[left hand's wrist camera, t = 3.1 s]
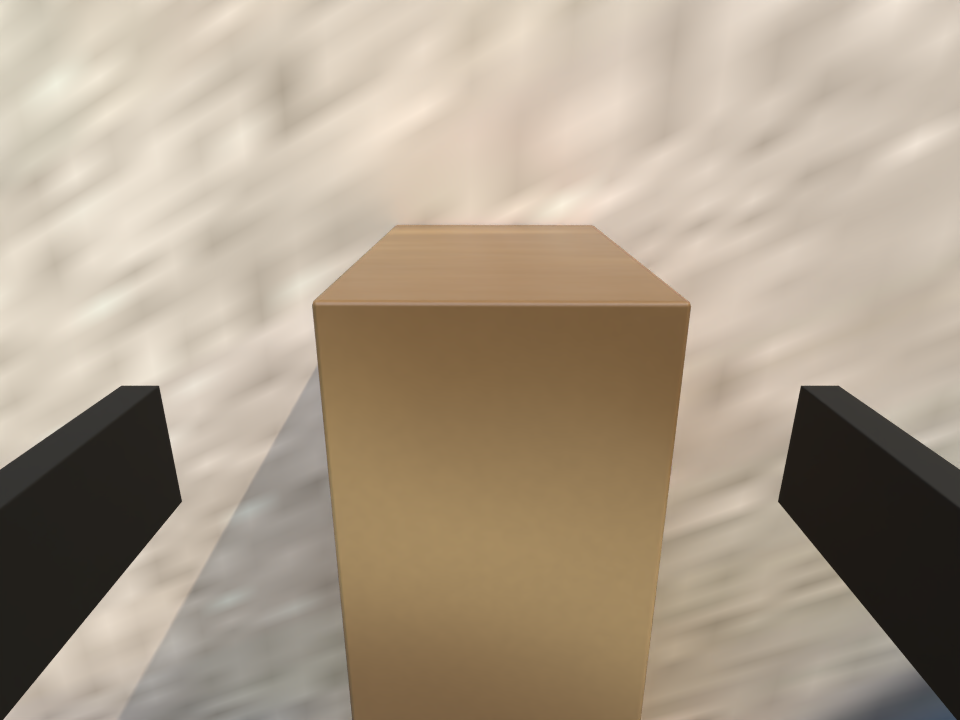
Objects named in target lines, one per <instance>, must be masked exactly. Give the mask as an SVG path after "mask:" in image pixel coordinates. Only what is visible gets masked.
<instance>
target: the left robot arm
mask: <svg viewBox="0 0 960 720" xmlns="http://www.w3.org/2000/svg"><path fill="white" fill-rule="evenodd" d="M181 502H182V500H181V495H180V490H179V484H178V479H177V474H176V469H175V464H174V459H173V454H172V449H171V444H170V439H169V434H168V429H167V424H166V419H165V414H164V409H163V404H162V399H161V394H160V389H159V386H120V387H119V388H118V389H116V390H115V391H113V392H112V393H110V394H109V395H107V396H106V397H105V398H103V399H102V400H100V401H99V402H97V403H96V404H94V405H93V406H92V407H90V408H89V409H87V410H86V411H84V412H83V413H81V414H80V415H79V416H77V417H76V418H74V419H73V420H71V421H70V422H68V423H67V424H66V425H64V426H63V427H61V428H60V429H58V430H57V431H55V432H54V433H53V434H51V435H50V436H48V437H47V438H45V439H44V440H42V441H41V442H40V443H38V444H37V445H35V446H34V447H32V448H31V449H29V450H28V451H27V452H25V453H24V454H22V455H21V456H19V457H18V458H16V459H15V460H14V461H12V462H11V463H9V464H8V465H6V466H5V467H3V468H2V469H1V470H0V720H3V719H4V718H5V717H6V716H7V714H8V713H9V712H10V711H11V709H12V708H13V707H14V706H15V705H16V703H17V702H18V701H19V700H20V698H21V697H22V696H23V695H24V694H25V692H26V691H27V690H28V689H29V687H30V686H31V685H32V684H33V683H34V681H35V680H36V679H37V678H38V676H39V675H40V674H41V673H42V672H43V670H44V669H45V668H46V667H47V666H48V664H49V663H50V662H51V661H52V659H53V658H54V657H55V656H56V655H57V653H58V652H59V651H60V650H61V648H62V647H63V646H64V645H65V644H66V642H67V641H68V640H69V639H70V637H71V636H72V635H73V634H74V633H75V631H76V630H77V629H78V628H79V626H80V625H81V624H82V623H83V622H84V620H85V619H86V618H87V617H88V615H89V614H90V613H91V612H92V611H93V609H94V608H95V607H96V606H97V604H98V603H99V602H100V601H101V600H102V598H103V597H104V596H105V595H106V594H107V592H108V591H109V590H110V589H111V587H112V586H113V585H114V584H115V583H116V581H117V580H118V579H119V578H120V576H121V575H122V574H123V573H124V572H125V570H126V569H127V568H128V567H129V565H130V564H131V563H132V562H133V561H134V559H135V558H136V557H137V556H138V554H139V553H140V552H141V551H142V550H143V548H144V547H145V546H146V545H147V543H148V542H149V541H150V540H151V539H152V537H153V536H154V535H155V534H156V533H157V531H158V530H159V529H160V528H161V526H162V525H163V524H164V523H165V522H166V520H167V519H168V518H169V517H170V515H171V514H172V513H173V512H174V511H175V509H176V508H177V507H178V506H179V504H180V503H181ZM778 502H779V503H780V504H781V506H782V507H783V508H784V509H785V511H786V512H787V513H788V514H789V515H790V517H791V518H792V519H793V520H794V522H795V523H796V524H797V525H798V526H799V528H800V529H801V530H802V531H803V533H804V534H805V535H806V536H807V537H808V539H809V540H810V541H811V542H812V543H813V545H814V546H815V547H816V548H817V550H818V551H819V552H820V553H821V554H822V556H823V557H824V558H825V559H826V561H827V562H828V563H829V564H830V565H831V567H832V568H833V569H834V570H835V572H836V573H837V574H838V575H839V576H840V578H841V579H842V580H843V581H844V583H845V584H846V585H847V586H848V587H849V589H850V590H851V591H852V592H853V594H854V595H855V596H856V597H857V598H858V600H859V601H860V602H861V603H862V605H863V606H864V607H865V608H866V609H867V611H868V612H869V613H870V614H871V615H872V617H873V618H874V619H875V620H876V622H877V623H878V624H879V625H880V626H881V628H882V629H883V630H884V631H885V633H886V634H887V635H888V636H889V637H890V639H891V640H892V641H893V642H894V644H895V645H896V646H897V647H898V648H899V650H900V651H901V652H902V653H903V655H904V656H905V657H906V658H907V659H908V661H909V662H910V663H911V664H912V666H913V667H914V668H915V669H916V670H917V672H918V673H919V674H920V675H921V676H922V678H923V679H924V680H925V681H926V683H927V684H928V685H929V686H930V687H931V689H932V690H933V691H934V692H935V694H936V695H937V696H938V697H939V698H940V700H941V701H942V702H943V703H944V705H945V706H946V707H947V708H948V709H949V711H950V712H951V713H952V714H953V716H954V717H955V718H956V719H957V720H960V470H959V469H958V468H957V467H955V466H954V465H952V464H951V463H949V462H948V461H946V460H945V459H944V458H942V457H941V456H939V455H938V454H936V453H935V452H933V451H932V450H931V449H929V448H928V447H926V446H925V445H923V444H922V443H920V442H919V441H918V440H916V439H915V438H913V437H912V436H910V435H909V434H907V433H906V432H905V431H903V430H902V429H900V428H899V427H897V426H896V425H894V424H893V423H892V422H890V421H889V420H887V419H886V418H884V417H883V416H881V415H880V414H879V413H877V412H876V411H874V410H873V409H871V408H870V407H868V406H867V405H866V404H864V403H863V402H861V401H860V400H858V399H857V398H855V397H854V396H853V395H851V394H850V393H848V392H847V391H845V390H844V389H842V388H841V387H839V386H801V389H800V394H799V399H798V404H797V409H796V414H795V419H794V424H793V429H792V434H791V439H790V444H789V449H788V454H787V459H786V464H785V469H784V474H783V479H782V484H781V489H780V495H779V500H778Z"/></svg>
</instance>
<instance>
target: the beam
mask: <svg viewBox="0 0 960 720" xmlns="http://www.w3.org/2000/svg"><path fill="white" fill-rule="evenodd" d="M312 308H313V319H314V329H315V339H316V350H317V360H318V370H319V381H320V391H321V401H322V412H323V422H324V432H325V442H326V453H327V463H328V473H329V484H330V494H331V504H332V515H333V525H334V535H335V546H336V556H337V566H338V577H339V587H340V597H341V607H342V618H343V628H344V638H345V649H346V659H347V669H348V680H349V690H350V700H351V711H352V720H641V711H642V703H643V695H644V687H645V679H646V671H647V662H648V654H649V646H650V638H651V630H652V621H653V613H654V605H655V597H656V589H657V580H658V572H659V564H660V556H661V548H662V539H663V531H664V523H665V515H666V507H667V498H668V490H669V482H670V474H671V466H672V457H673V449H674V441H675V433H676V425H677V416H678V408H679V400H680V392H681V384H682V375H683V367H684V359H685V351H686V343H687V334H688V326H689V318H690V310H691V305H690V302H689V301H687V300H686V299H685V298H684V297H682V296H681V295H680V294H679V293H677V292H676V291H675V290H674V289H672V288H671V287H670V286H669V285H667V284H666V283H665V282H663V281H662V280H661V279H660V278H658V277H657V276H656V275H655V274H653V273H652V272H651V271H650V270H648V269H647V268H646V267H645V266H643V265H642V264H641V263H640V262H638V261H637V260H636V259H635V258H633V257H632V256H631V255H630V254H628V253H627V252H626V251H624V250H623V249H622V248H621V247H619V246H618V245H617V244H616V243H614V242H613V241H612V240H611V239H609V238H608V237H607V236H606V235H604V234H603V233H602V232H601V231H599V230H598V229H597V228H596V227H594V226H592V225H397V226H395V227H394V228H393V229H392V230H391V231H390V232H388V233H387V234H386V235H385V236H384V237H383V238H382V239H381V240H380V241H379V242H378V243H376V244H375V245H374V246H373V247H372V248H371V249H370V250H369V251H368V252H367V253H366V254H364V255H363V256H362V257H361V258H360V259H359V260H358V261H357V262H356V263H355V264H354V265H352V266H351V267H350V268H349V269H348V270H347V271H346V272H345V273H344V274H343V275H342V276H340V277H339V278H338V279H337V280H336V281H335V282H334V283H333V284H332V285H331V286H330V287H328V288H327V289H326V290H325V291H324V292H323V293H322V294H321V295H320V296H319V297H318V298H316V299H315V300H314V301H313V304H312Z"/></svg>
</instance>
